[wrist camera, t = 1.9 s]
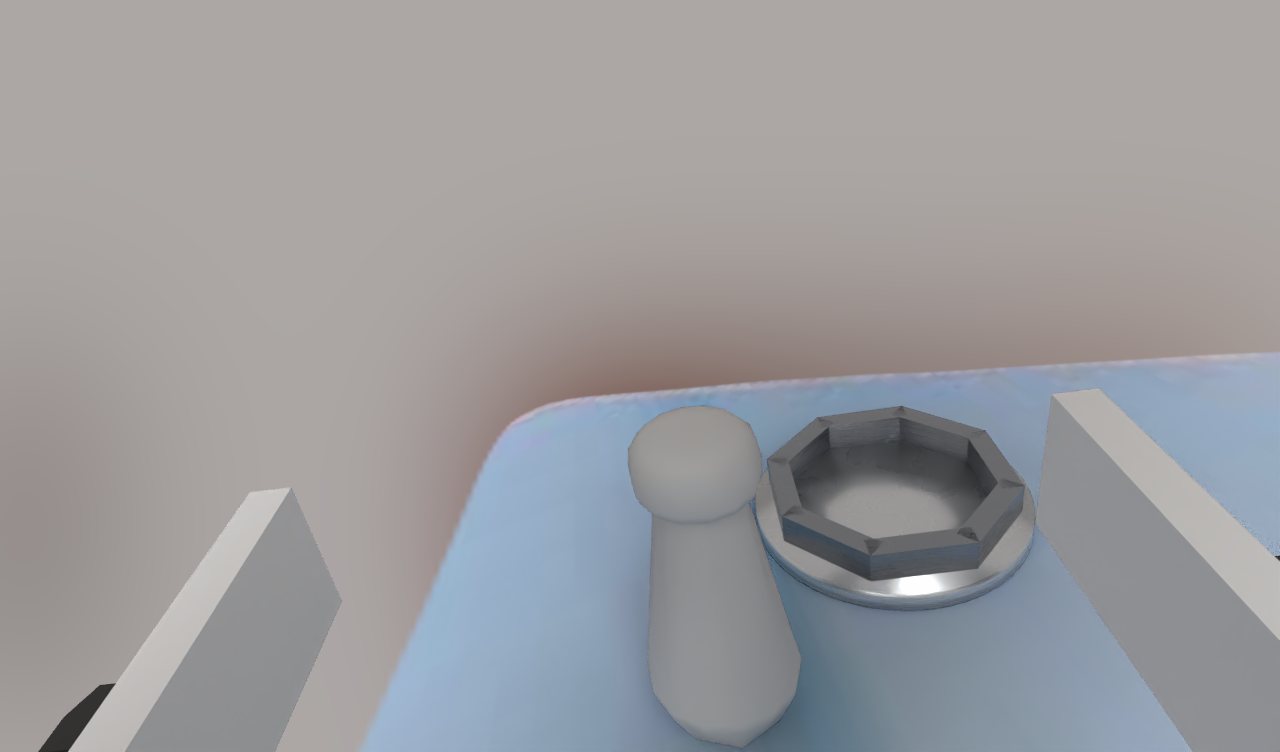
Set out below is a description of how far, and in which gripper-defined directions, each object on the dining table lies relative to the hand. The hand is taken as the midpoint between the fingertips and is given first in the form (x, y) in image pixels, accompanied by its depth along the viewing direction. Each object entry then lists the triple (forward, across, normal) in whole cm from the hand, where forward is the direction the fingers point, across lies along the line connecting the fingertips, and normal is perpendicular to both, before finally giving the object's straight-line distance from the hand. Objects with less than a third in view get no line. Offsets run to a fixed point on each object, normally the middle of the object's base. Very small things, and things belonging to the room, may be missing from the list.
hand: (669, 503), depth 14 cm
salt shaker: (+10, +1, -18) cm, 21 cm away
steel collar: (+20, +10, -18) cm, 28 cm away
